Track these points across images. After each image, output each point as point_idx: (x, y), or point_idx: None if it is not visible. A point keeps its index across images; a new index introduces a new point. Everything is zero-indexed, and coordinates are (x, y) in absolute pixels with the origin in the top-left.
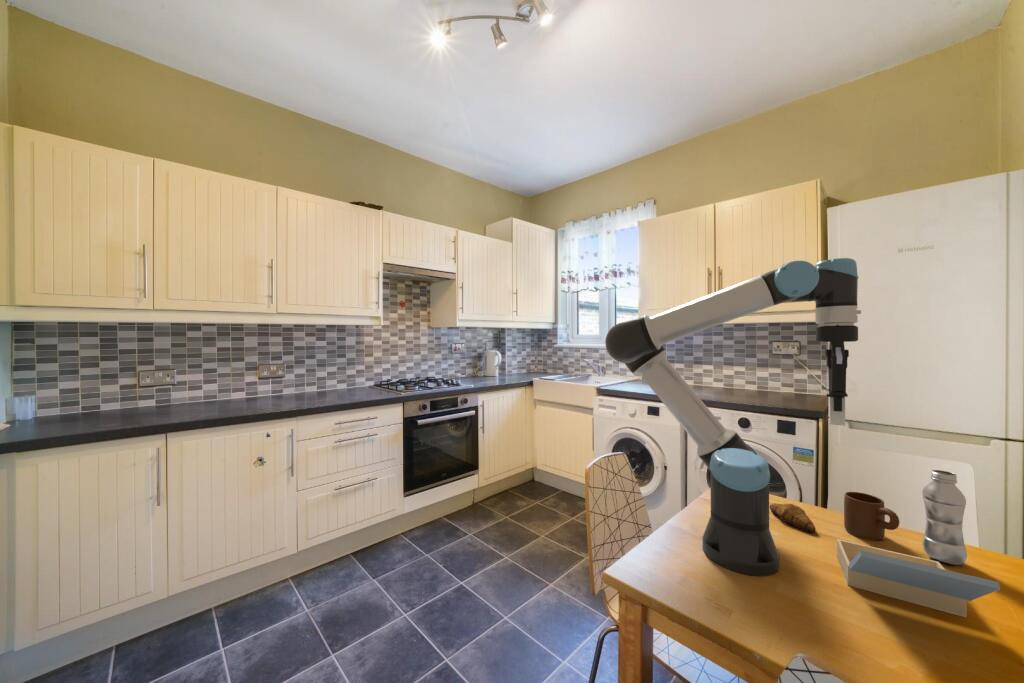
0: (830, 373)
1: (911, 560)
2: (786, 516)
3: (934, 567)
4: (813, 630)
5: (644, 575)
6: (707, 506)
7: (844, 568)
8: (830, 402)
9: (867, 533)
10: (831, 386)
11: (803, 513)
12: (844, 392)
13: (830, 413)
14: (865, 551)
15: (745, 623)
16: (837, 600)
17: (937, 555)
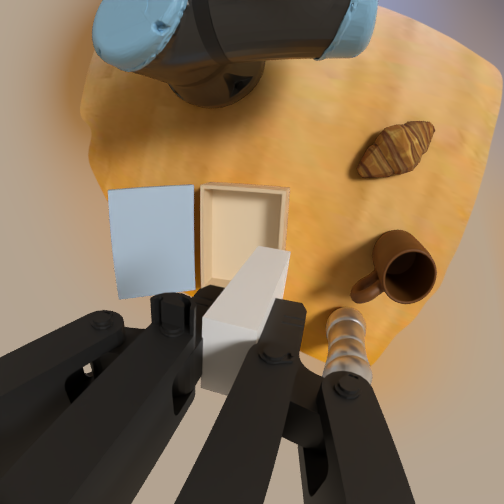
0: (55, 485)
1: None
2: (379, 136)
3: (113, 256)
4: (115, 138)
5: None
6: (379, 19)
7: (229, 184)
8: (220, 299)
9: (373, 253)
10: (68, 351)
11: (391, 166)
12: (91, 377)
13: (243, 267)
14: (108, 196)
15: (100, 90)
16: (172, 164)
17: (331, 314)
